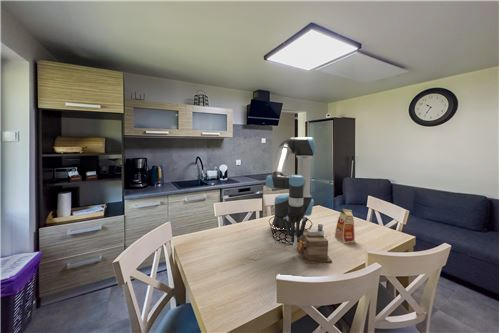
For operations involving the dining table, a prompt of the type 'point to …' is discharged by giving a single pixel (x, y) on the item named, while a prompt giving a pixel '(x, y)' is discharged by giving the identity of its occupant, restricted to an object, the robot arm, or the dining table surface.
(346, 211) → the milk carton
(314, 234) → the keeper bar
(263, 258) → the dining table surface
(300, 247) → the lynch pin
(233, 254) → the dining table surface
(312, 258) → the hitch block
